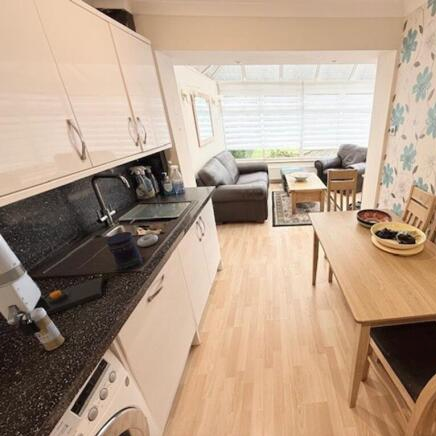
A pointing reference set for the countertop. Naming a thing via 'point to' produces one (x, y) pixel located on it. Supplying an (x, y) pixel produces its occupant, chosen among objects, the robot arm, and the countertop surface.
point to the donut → (147, 240)
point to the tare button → (55, 294)
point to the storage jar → (124, 251)
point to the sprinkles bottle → (46, 329)
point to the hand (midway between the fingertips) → (39, 321)
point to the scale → (76, 295)
